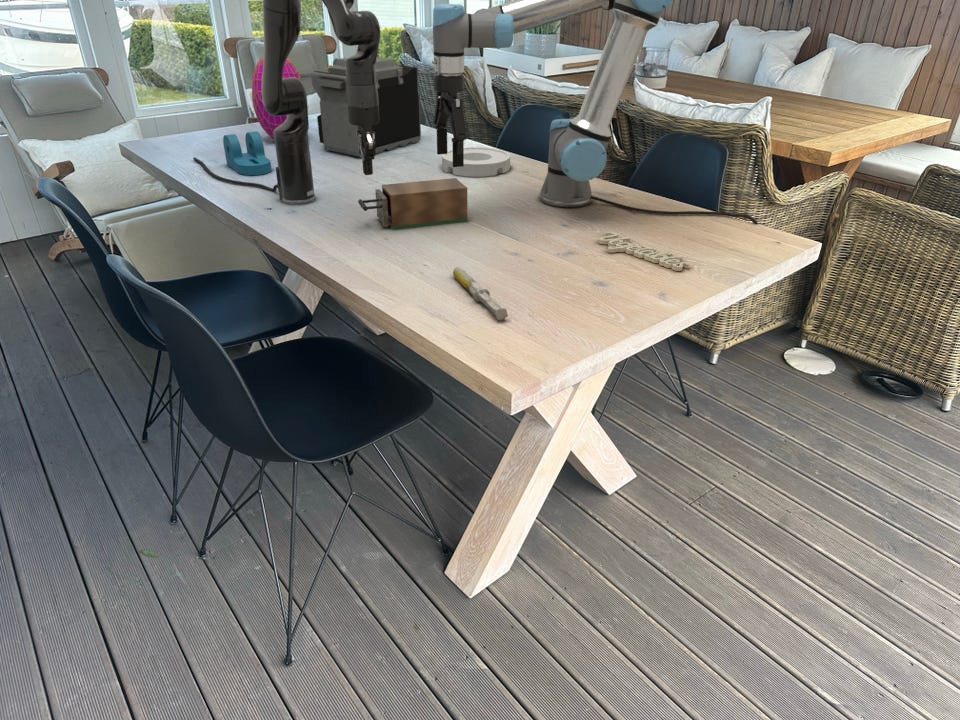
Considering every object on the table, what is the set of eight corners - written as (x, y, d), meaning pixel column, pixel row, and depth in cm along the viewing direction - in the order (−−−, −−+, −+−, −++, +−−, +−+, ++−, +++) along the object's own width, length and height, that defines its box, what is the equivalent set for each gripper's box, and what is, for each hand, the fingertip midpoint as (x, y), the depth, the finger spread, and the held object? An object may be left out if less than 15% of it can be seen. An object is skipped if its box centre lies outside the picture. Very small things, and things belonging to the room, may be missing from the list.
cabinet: (392, 229, 180) (390, 195, 175) (383, 218, 188) (381, 184, 183) (467, 221, 186) (467, 187, 182) (456, 210, 194) (455, 177, 189)
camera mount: (227, 164, 233) (221, 132, 227) (257, 160, 238) (252, 129, 233) (244, 176, 220) (239, 143, 215) (276, 172, 225) (271, 139, 220)
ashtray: (444, 158, 243) (444, 146, 241) (509, 159, 243) (510, 147, 241) (439, 176, 224) (438, 163, 222) (510, 177, 223) (510, 165, 221)
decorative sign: (584, 239, 172) (609, 230, 178) (583, 243, 172) (609, 234, 178) (672, 271, 155) (697, 260, 161) (671, 275, 156) (696, 264, 161)
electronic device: (383, 133, 276) (378, 52, 261) (425, 141, 265) (422, 56, 250) (314, 150, 251) (304, 61, 235) (358, 160, 240) (350, 67, 224)
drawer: (365, 228, 178) (363, 200, 174) (358, 218, 185) (356, 191, 181) (455, 218, 185) (455, 191, 182) (446, 209, 192) (445, 182, 188)
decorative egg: (293, 132, 276) (283, 50, 261) (319, 140, 264) (310, 56, 249) (249, 139, 265) (236, 54, 250) (273, 148, 253) (261, 60, 238)
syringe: (449, 274, 155) (449, 263, 153) (465, 272, 156) (464, 260, 154) (490, 323, 135) (491, 310, 133) (508, 319, 136) (508, 307, 134)
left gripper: (342, 99, 171) (348, 168, 180) (353, 108, 160) (358, 182, 169) (372, 97, 173) (376, 166, 182) (384, 107, 163) (388, 179, 171)
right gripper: (420, 67, 180) (423, 150, 190) (450, 82, 160) (451, 173, 170) (448, 66, 182) (448, 148, 193) (480, 80, 162) (479, 170, 173)
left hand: (368, 174), depth 176 cm, fingers closed
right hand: (449, 160), depth 182 cm, fingers open, 13 cm apart
